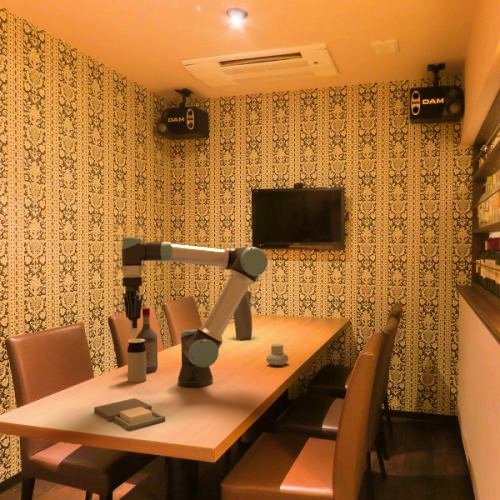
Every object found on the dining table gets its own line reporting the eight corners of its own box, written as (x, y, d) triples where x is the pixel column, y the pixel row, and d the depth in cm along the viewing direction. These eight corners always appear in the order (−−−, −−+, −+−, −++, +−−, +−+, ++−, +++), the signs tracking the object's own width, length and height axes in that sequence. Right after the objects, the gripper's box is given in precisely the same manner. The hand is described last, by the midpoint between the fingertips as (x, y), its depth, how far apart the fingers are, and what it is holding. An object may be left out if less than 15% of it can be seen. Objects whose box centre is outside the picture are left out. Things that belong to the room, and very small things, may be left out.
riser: (134, 403, 191) (134, 398, 191) (151, 411, 181) (151, 406, 181) (94, 412, 181) (94, 407, 181) (109, 422, 171) (109, 416, 171)
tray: (148, 412, 180) (148, 408, 180) (165, 421, 171) (165, 416, 171) (114, 421, 172) (114, 416, 172) (130, 430, 162) (130, 426, 162)
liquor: (155, 372, 237) (153, 309, 236) (135, 373, 237) (134, 309, 236) (158, 368, 246) (157, 307, 246) (139, 368, 246) (138, 307, 245)
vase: (243, 341, 310) (242, 293, 309) (229, 339, 318) (228, 292, 318) (256, 338, 318) (255, 291, 318) (242, 336, 327) (241, 290, 327)
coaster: (141, 413, 178) (141, 406, 178) (152, 419, 172) (152, 412, 172) (120, 418, 173) (119, 411, 173) (130, 425, 167) (130, 417, 167)
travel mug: (138, 383, 218) (138, 342, 218) (124, 381, 222) (123, 341, 221) (149, 379, 225) (149, 339, 225) (135, 377, 229) (134, 338, 229)
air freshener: (278, 368, 242) (278, 347, 242) (264, 366, 247) (264, 345, 246) (290, 363, 250) (290, 343, 250) (276, 361, 255) (276, 342, 255)
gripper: (116, 276, 200) (117, 335, 200) (131, 277, 190) (132, 339, 190) (133, 275, 204) (134, 333, 205) (148, 276, 195) (150, 337, 195)
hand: (133, 336), depth 197 cm, fingers closed
